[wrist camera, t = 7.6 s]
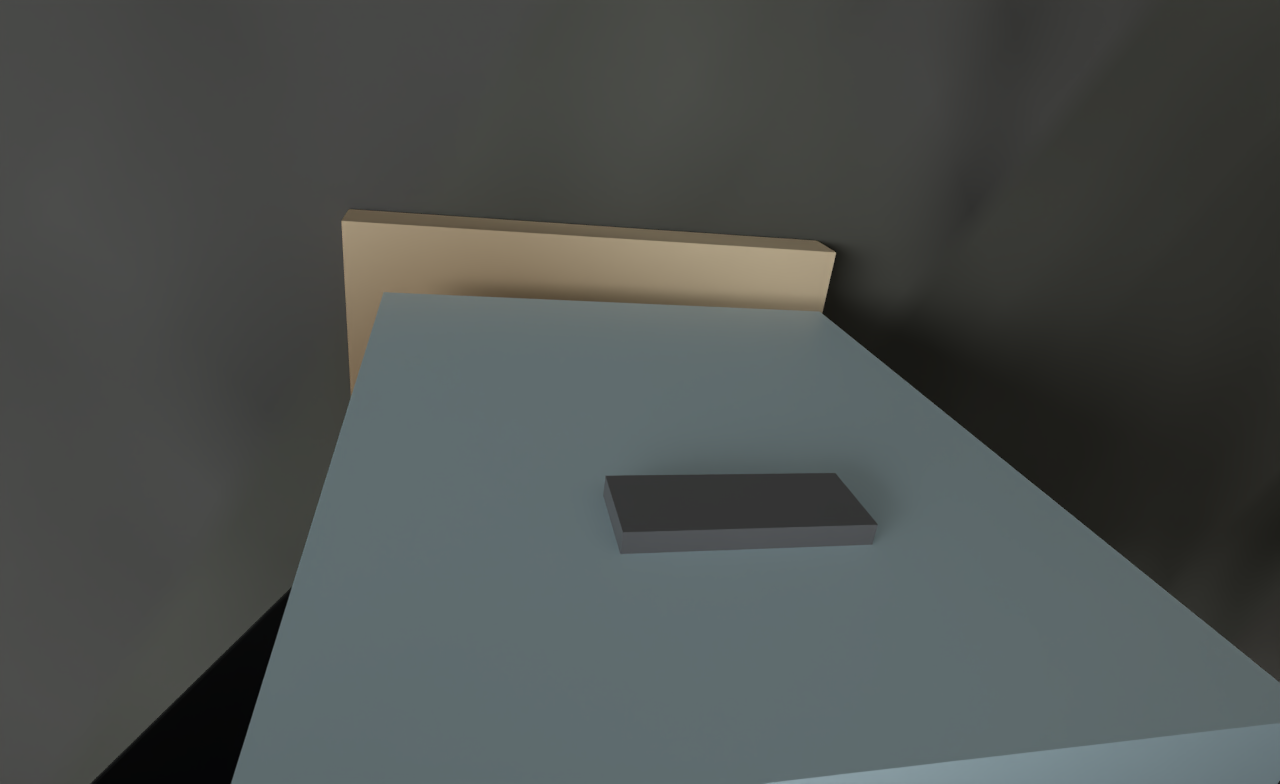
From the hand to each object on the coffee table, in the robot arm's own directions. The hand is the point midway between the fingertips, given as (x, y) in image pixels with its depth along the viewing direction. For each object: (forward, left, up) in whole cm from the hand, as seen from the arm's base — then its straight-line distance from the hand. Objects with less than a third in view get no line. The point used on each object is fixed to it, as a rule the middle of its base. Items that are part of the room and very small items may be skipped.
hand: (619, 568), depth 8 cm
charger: (-1, 0, -2) cm, 2 cm away
